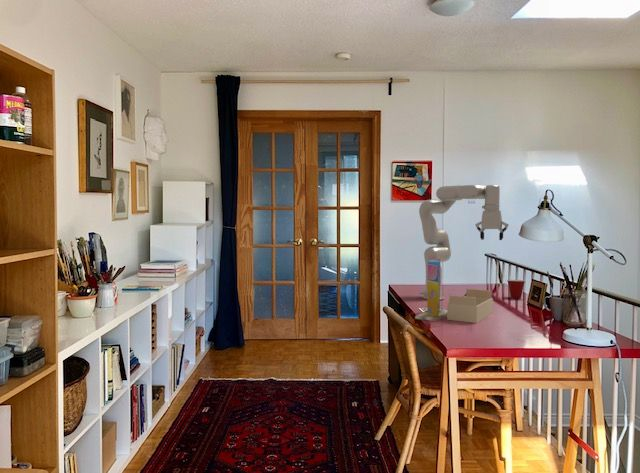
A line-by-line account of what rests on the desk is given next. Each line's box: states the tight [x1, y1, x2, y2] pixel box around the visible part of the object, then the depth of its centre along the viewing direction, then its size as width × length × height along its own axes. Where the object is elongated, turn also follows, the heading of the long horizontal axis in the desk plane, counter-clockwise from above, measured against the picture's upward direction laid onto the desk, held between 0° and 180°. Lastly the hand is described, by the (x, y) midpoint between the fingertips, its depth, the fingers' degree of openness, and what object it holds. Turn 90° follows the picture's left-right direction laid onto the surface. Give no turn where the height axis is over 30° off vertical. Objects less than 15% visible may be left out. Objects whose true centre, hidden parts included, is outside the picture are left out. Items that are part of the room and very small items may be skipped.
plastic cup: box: [506, 279, 526, 300], centre depth 317 cm, size 11×11×12 cm
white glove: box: [414, 308, 447, 322], centre depth 264 cm, size 11×24×2 cm, turn 147°
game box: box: [426, 259, 441, 316], centre depth 264 cm, size 21×6×27 cm, turn 165°
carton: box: [446, 288, 494, 324], centre depth 263 cm, size 15×29×12 cm, turn 147°
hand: (491, 239), depth 278 cm, fingers open, 9 cm apart
